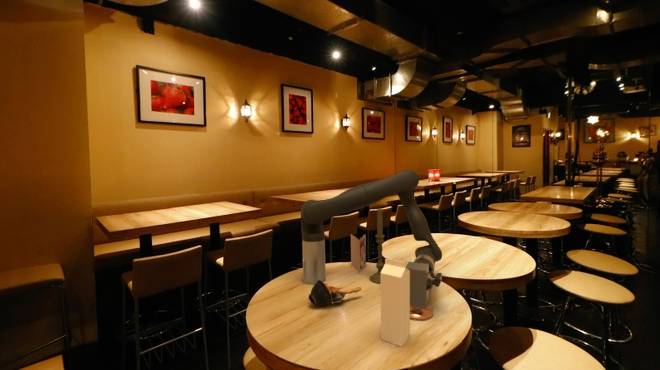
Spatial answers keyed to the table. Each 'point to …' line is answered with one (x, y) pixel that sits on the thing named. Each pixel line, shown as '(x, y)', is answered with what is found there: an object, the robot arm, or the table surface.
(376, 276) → the candlestick holder
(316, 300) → the fried shrimp in bowl
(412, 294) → the grey rectangular block
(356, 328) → the table surface
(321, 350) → the table surface
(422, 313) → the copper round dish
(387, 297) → the milk
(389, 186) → the robot arm
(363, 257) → the greeting card
